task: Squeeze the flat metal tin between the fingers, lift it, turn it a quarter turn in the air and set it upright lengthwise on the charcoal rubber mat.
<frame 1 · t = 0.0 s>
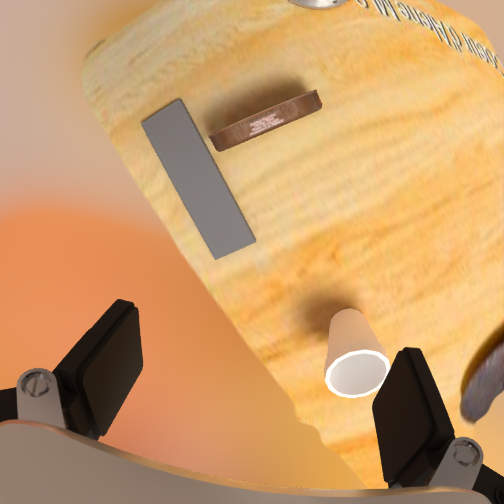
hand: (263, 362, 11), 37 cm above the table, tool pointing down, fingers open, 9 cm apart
tin: (268, 121, 42), on the table
charcoal mat: (198, 179, 46), on the table
foam cup: (347, 323, 52), on the table
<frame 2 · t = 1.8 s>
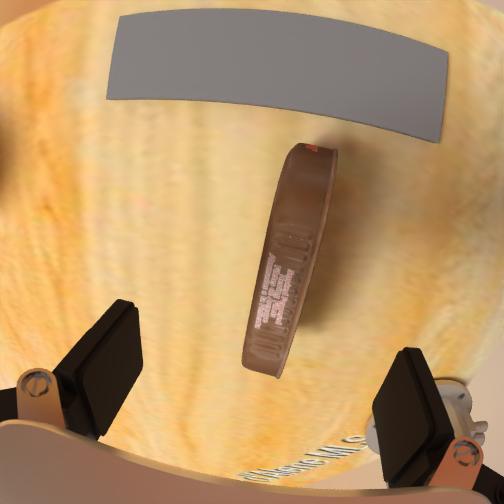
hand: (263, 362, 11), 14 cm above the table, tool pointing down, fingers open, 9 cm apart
tin: (290, 244, 24), on the table
charcoal mat: (273, 59, 19), on the table
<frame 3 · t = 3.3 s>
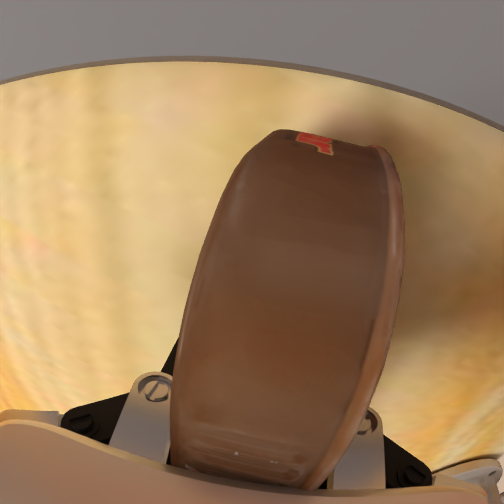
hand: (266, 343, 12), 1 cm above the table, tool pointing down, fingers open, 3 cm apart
tin: (269, 320, 13), on the table, touching gripper
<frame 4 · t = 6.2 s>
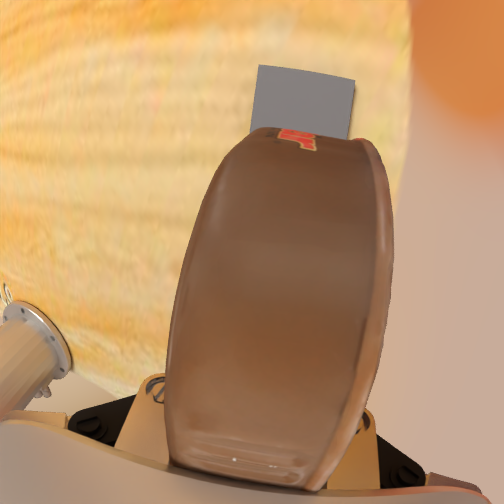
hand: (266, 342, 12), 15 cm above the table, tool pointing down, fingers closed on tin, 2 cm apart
tin: (263, 320, 13), point 14 cm above the table, touching gripper
charcoal mat: (284, 223, 25), on the table
when the fingers open (3 cm above the table, at t = 9.0 s): tin stays where it is, resting on charcoal mat.
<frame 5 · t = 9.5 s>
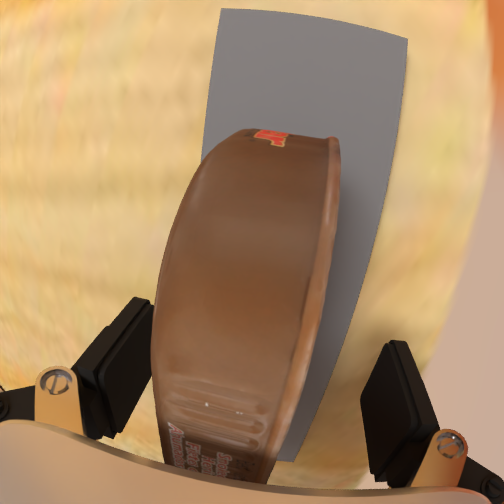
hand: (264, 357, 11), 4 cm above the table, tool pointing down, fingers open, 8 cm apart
tin: (259, 308, 14), point 1 cm above the table, touching charcoal mat
charcoal mat: (272, 300, 14), on the table
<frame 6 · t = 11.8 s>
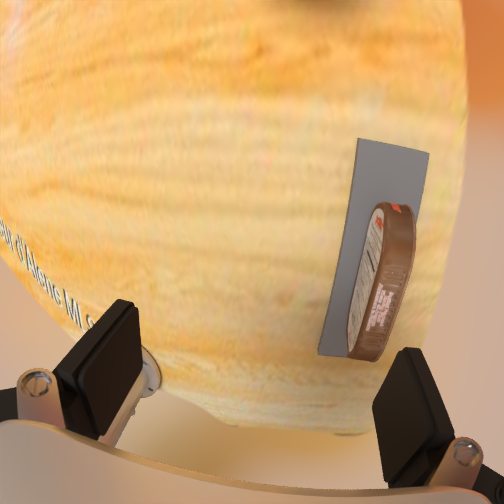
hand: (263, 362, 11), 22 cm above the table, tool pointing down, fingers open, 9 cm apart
tin: (367, 265, 31), point 1 cm above the table, touching charcoal mat
charcoal mat: (371, 261, 31), on the table
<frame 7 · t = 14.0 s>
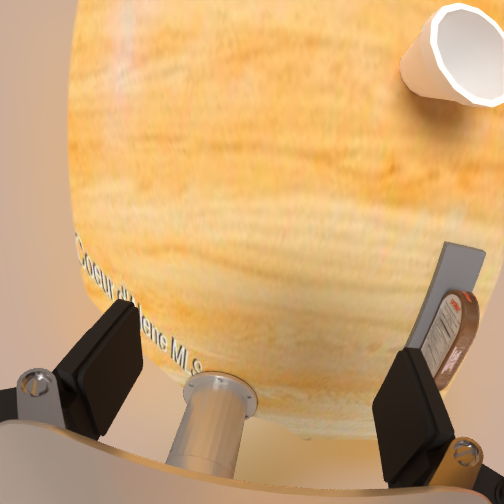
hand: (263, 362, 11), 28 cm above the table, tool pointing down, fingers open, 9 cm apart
tin: (434, 324, 40), point 1 cm above the table, touching charcoal mat
charcoal mat: (436, 321, 40), on the table
foam cup: (422, 72, 29), on the table
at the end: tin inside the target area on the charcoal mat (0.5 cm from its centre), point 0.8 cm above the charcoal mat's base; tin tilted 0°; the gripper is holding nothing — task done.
